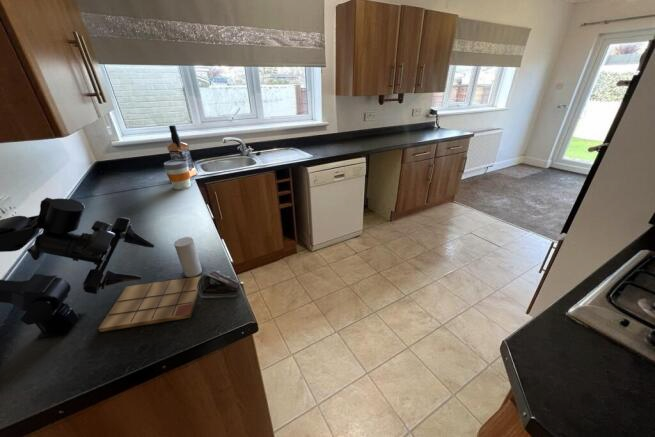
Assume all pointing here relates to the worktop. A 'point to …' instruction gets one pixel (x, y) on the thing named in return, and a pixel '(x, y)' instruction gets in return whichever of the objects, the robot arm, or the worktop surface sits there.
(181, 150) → the whiskey bottle
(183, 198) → the worktop surface
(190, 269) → the white plastic cylinder
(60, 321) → the robot arm
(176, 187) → the reusable coffee cup
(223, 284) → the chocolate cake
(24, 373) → the worktop surface
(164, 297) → the board
